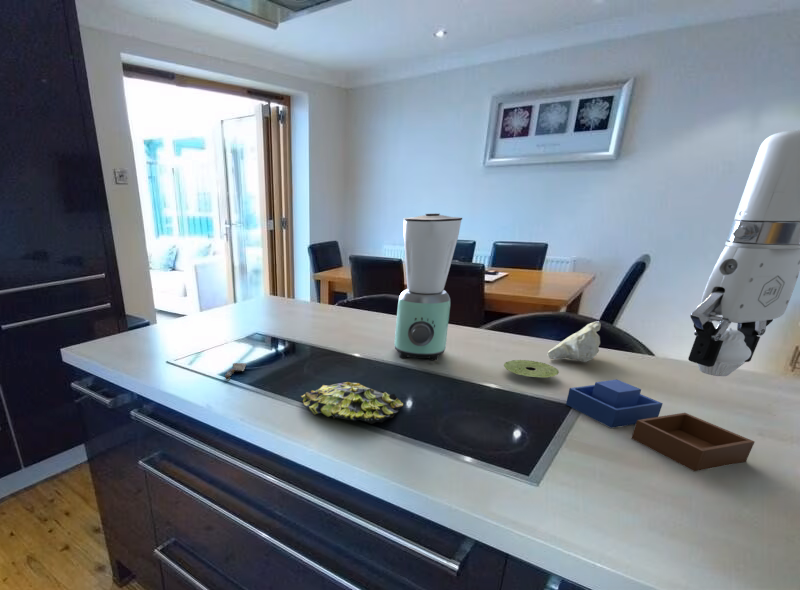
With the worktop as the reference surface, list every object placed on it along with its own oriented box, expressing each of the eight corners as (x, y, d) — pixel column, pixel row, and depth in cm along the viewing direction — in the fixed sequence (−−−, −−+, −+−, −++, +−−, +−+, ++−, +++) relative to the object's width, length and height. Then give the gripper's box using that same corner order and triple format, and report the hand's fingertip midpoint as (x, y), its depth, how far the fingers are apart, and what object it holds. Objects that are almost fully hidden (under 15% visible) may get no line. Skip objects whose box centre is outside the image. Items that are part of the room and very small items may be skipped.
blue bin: (607, 398, 90) (612, 382, 88) (656, 421, 80) (662, 403, 79) (565, 404, 88) (569, 387, 86) (611, 428, 78) (616, 410, 77)
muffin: (695, 377, 65) (712, 331, 62) (681, 363, 70) (695, 320, 68) (750, 382, 63) (770, 335, 60) (731, 368, 68) (748, 324, 65)
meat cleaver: (253, 365, 112) (236, 364, 114) (253, 361, 112) (235, 359, 114) (231, 380, 102) (212, 379, 104) (231, 376, 102) (212, 374, 103)
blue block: (610, 402, 86) (616, 379, 85) (633, 413, 82) (641, 389, 80) (588, 405, 85) (595, 382, 84) (611, 417, 81) (619, 392, 79)
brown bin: (678, 430, 77) (684, 412, 76) (746, 461, 68) (755, 441, 66) (631, 438, 75) (637, 419, 74) (694, 471, 66) (702, 451, 64)
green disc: (539, 389, 95) (541, 380, 94) (492, 373, 103) (493, 365, 103) (567, 377, 100) (569, 369, 99) (520, 363, 109) (521, 356, 108)
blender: (446, 366, 108) (466, 214, 95) (391, 362, 112) (402, 215, 98) (443, 343, 125) (459, 211, 112) (395, 340, 129) (405, 212, 115)
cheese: (569, 378, 105) (633, 340, 100) (550, 353, 106) (612, 314, 101) (554, 374, 119) (609, 341, 115) (537, 353, 120) (590, 319, 116)
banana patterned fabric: (282, 413, 88) (283, 381, 88) (328, 406, 101) (329, 377, 100) (371, 427, 76) (372, 389, 75) (411, 416, 88) (412, 384, 88)
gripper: (750, 240, 54) (700, 376, 61) (851, 234, 57) (792, 364, 64) (686, 235, 60) (647, 358, 67) (780, 231, 64) (733, 348, 71)
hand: (718, 360), depth 66 cm, fingers closed on muffin, 6 cm apart
